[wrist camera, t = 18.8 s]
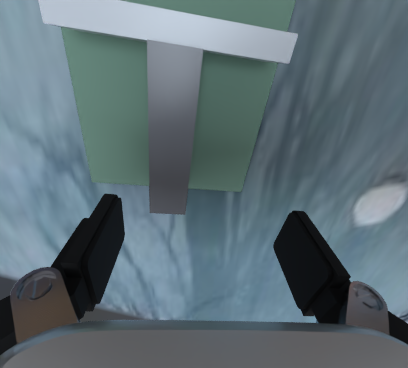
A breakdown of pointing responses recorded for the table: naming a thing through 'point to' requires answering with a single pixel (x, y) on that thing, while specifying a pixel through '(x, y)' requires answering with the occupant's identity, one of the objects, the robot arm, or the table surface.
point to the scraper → (170, 73)
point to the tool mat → (206, 107)
